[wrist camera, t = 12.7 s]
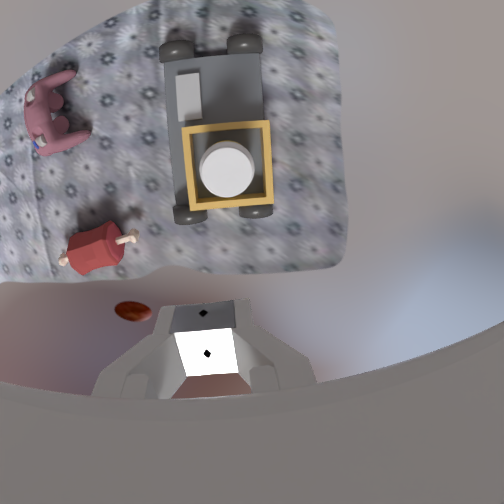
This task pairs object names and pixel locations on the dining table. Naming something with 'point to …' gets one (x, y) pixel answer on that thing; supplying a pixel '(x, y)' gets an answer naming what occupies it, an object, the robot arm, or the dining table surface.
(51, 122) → the video game controller
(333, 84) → the dining table surface
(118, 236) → the meat
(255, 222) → the dining table surface
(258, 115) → the chassis
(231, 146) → the supplement bottle
